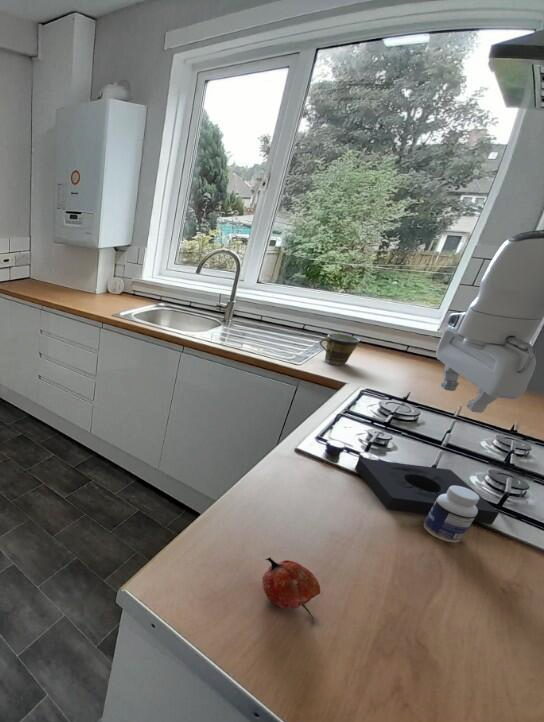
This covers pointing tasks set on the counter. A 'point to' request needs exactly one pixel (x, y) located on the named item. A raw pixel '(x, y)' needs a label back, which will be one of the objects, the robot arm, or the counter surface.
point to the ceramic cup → (339, 348)
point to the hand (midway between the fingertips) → (460, 399)
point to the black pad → (399, 491)
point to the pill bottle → (452, 514)
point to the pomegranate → (289, 584)
